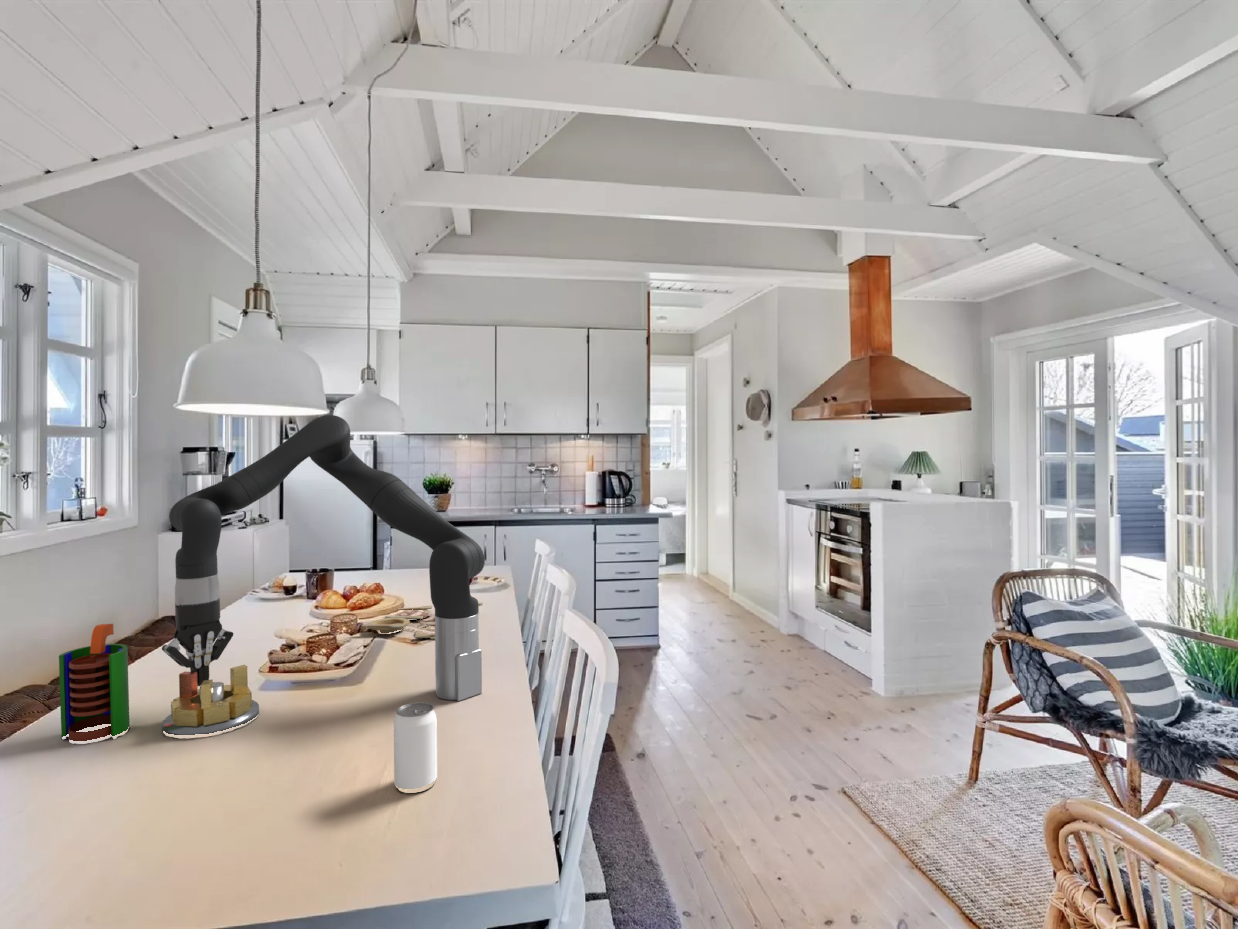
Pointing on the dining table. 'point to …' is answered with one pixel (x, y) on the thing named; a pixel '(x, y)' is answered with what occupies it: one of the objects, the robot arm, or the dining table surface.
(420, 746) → the can
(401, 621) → the tableware set
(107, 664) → the motor
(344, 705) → the dining table surface
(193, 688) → the wooden blocks on tray
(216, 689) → the rotating turntable
